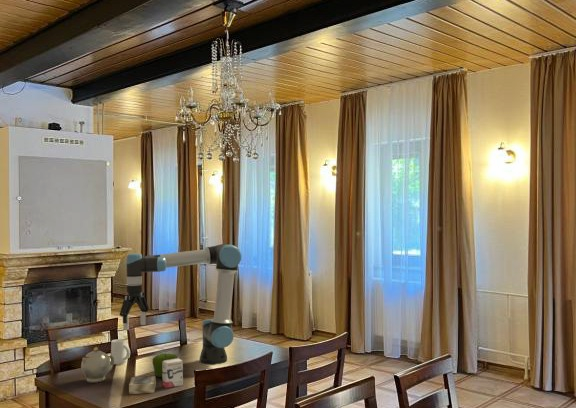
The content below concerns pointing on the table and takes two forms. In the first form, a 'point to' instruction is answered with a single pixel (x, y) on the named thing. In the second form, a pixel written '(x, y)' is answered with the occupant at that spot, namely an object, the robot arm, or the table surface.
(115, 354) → the mug
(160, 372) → the apple
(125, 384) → the table surface
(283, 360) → the table surface
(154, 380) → the plinth
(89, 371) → the teapot
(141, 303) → the robot arm
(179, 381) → the ink box
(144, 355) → the table surface
